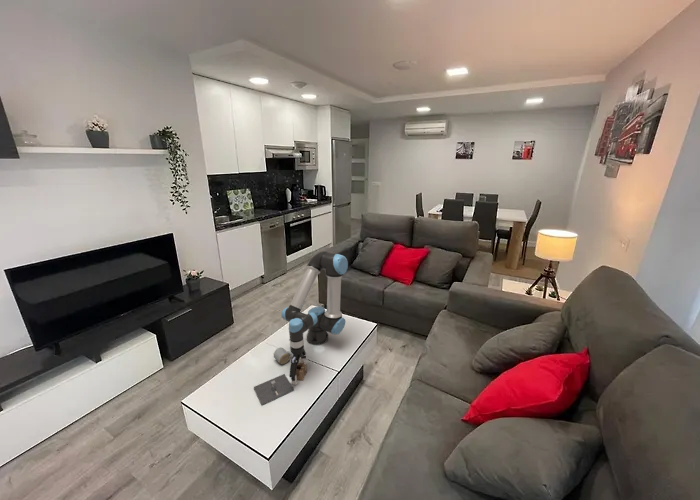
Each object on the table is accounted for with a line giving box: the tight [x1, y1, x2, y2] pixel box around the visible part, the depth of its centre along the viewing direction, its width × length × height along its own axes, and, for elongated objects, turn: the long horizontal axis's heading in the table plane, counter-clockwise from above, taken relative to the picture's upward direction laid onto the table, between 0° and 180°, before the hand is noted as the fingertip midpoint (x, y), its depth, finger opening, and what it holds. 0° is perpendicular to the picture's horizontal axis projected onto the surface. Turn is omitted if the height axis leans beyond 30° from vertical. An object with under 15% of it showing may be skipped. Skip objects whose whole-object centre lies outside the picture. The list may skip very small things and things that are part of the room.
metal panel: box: [253, 373, 295, 406], centre depth 159 cm, size 18×14×5 cm
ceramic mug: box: [273, 346, 293, 365], centre depth 182 cm, size 11×8×8 cm
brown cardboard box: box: [290, 362, 308, 382], centre depth 169 cm, size 7×7×6 cm
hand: (298, 375), depth 170 cm, fingers open, 13 cm apart
